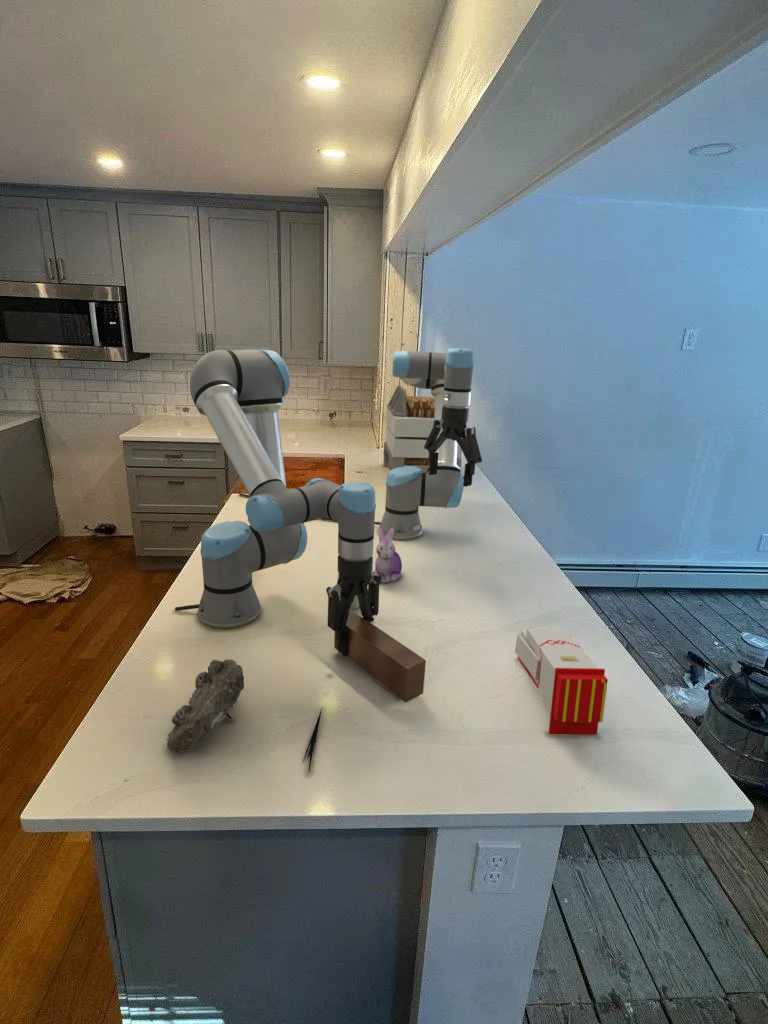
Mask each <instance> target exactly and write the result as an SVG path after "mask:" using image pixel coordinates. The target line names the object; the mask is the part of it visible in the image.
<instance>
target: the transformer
mask: <svg viewBox="0 0 768 1024" xmlns="http://www.w3.org/2000/svg"><path fill="white" fill-rule="evenodd" d="M407 394H408V393H407V390H406V389H404V388H403V387H402V385H399V384H398V385H397V386H396V388H395V390H394V392H393V394H392V395H391V398H390V400H389V402H388V404H387V405H386V413H385V414H386V415H385V423H386V428H385V438H384V442H383V466H384V467H388V468H389V472H390V471H391V470H393V469H395V468H399V467H405V466H413V467H417V466H418V467H429V465H430V463H429V452H428V450H427V449H424V445H425V443H426V441H427V439H428V437H429V435H430V433H431V430H432V428H433V424H434V410H435V398H434V397H433V396H415V395H414V396H413V395H412V396H411V395H407ZM462 454H463V452H462V449H461V447H460V445H459V444H458V443H457V466H458V467H459V468H460V469H461V470H462V461H463V460H462Z"/></svg>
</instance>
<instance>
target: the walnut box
mask: <svg viewBox="0 0 768 1024" xmlns="http://www.w3.org/2000/svg"><path fill="white" fill-rule="evenodd" d="M345 628H346V629H347V630H348V654H347V656H346V657H345V658H346V659H348V660H349V661H350V662H352V663H353V664H354V665H355V666H357V667H358V668H359V669H360V670H362V671H363V672H364V673H366V674H367V675H369V676H370V677H371V678H373V679H374V680H375V681H376V682H378V683H379V684H380V685H381V686H383V687H384V688H385V689H386V690H388V691H389V692H391V694H393V695H394V696H396V697H397V698H398V699H399V700H401V701H402V702H403V703H405V704H406V703H408V702H410V701H411V700H414V699H415V698H417V697H419V696H421V695H422V694H424V687H425V677H426V675H425V674H426V664H427V663H426V662H427V660H426V659H425V658H423V657H422V656H420V655H419V654H418V653H417V652H414V651H413V650H411V649H410V648H409V647H407V646H406V645H404V644H403V643H401V642H399V640H397V639H395V638H394V637H392V636H391V635H389V634H388V633H387V632H385V631H383V630H382V629H380V628H379V627H377V626H376V625H374V624H373V623H372V622H371V623H370V622H368V621H367V620H365V619H364V618H363V616H362V615H361V614H359V613H357V612H355V611H353V610H350V611H349V615H348V619H347V623H346V627H345ZM335 636H336V635H335V634H334V638H333V641H334V643H333V645H334V646H333V647H334V649H335V650H336V651H338V642H337V641H336V640H335Z"/></svg>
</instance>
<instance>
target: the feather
mask: <svg viewBox="0 0 768 1024" xmlns="http://www.w3.org/2000/svg"><path fill="white" fill-rule="evenodd" d="M329 675H330V676H331V675H332V674H331V673H330V674H329ZM322 710H323V707H321V708H320V710H319V713H318V716H317V719H316V723H315V725H314V728H313V731H312V733H311V737H310V739H309V742H308V745H307V748H306V751H305V754H304V757H303V760H302V763H301V767H302V765H303V763H304V761H305V758H308V759H309V760H308V762H307V763H308V764H307V766H308V771H310V770H311V766H312V765H311V764H312V760H313V757H315V756H314V755H315V751H316V749H315V746H317V739H318V733H319V729H320V722H321V717H322V712H323V711H322ZM313 754H314V755H313ZM306 755H307V757H306Z"/></svg>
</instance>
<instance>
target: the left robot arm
mask: <svg viewBox="0 0 768 1024" xmlns="http://www.w3.org/2000/svg"><path fill="white" fill-rule="evenodd" d="M290 386H291V378H290V372H289V369H288V366H287V363H286V362H285V360H284V359H283V358H282V356H281V355H280V354H279V353H278V352H276V351H274V350H271V349H261V348H256V349H217V350H216V349H215V350H212V351H209V352H208V353H206V354H204V355H203V356H201V357H200V358H199V360H198V361H197V362H196V363H195V365H194V367H193V369H192V371H191V374H190V379H189V392H190V397H191V399H192V402H193V404H194V406H195V408H196V410H197V411H198V413H200V414H201V415H203V416H205V417H206V418H207V421H208V423H209V424H210V426H211V428H212V430H213V432H214V433H215V435H216V437H217V439H218V441H219V443H220V444H221V446H222V448H223V450H224V452H225V454H226V456H227V457H228V459H229V461H230V463H231V465H232V467H233V468H234V470H235V473H236V474H237V476H238V478H239V480H240V481H241V483H242V485H243V487H244V489H245V491H246V493H247V495H249V496H250V498H249V497H248V499H247V500H246V503H245V515H246V516H247V521H248V522H245V521H241V520H233V521H231V520H228V521H222V522H220V523H216V524H214V525H212V526H210V527H209V528H207V529H206V530H205V531H204V532H203V534H202V535H201V539H200V556H201V568H202V576H203V577H202V579H203V590H202V593H201V598H200V601H199V604H190V605H189V604H188V605H181V606H176V607H174V611H175V612H180V611H187V610H195V609H197V617H198V620H199V622H200V623H201V624H202V625H203V626H205V627H208V628H210V629H214V630H215V629H216V630H232V629H233V630H234V629H238V628H239V629H240V628H243V627H246V626H248V625H250V624H253V622H255V621H257V620H258V618H259V617H260V615H261V612H262V611H261V602H260V600H259V597H258V594H257V592H256V590H255V588H254V586H253V585H254V584H253V573H256V572H258V571H261V570H265V569H269V568H272V567H276V566H280V565H286V564H289V563H291V562H292V561H295V560H299V559H300V558H301V557H302V556H303V554H304V553H305V551H306V549H307V544H308V531H307V527H306V525H305V523H308V522H312V521H317V520H322V519H321V518H328V519H330V520H332V521H331V522H334V523H337V527H338V529H337V530H338V531H337V554H338V555H337V573H338V574H339V579H338V581H337V580H336V584H335V585H333V586H332V587H331V586H328V587H326V589H325V591H326V594H327V627H328V628H329V629H330V630H332V631H333V632H334V637H335V640H336V641H337V642H338V650H337V652H338V653H339V654H340V655H342V656H343V657H344V658H347V657H346V656H347V654H348V630H347V629H346V628H345V627H346V623H347V619H348V615H349V612H351V609H350V607H351V603H352V602H353V601H354V597H355V596H356V595H357V597H358V601H359V610H360V616H361V617H362V618H364V619H365V620H367V621H368V622H370V623H371V624H372V623H373V622H374V621H375V617H376V616H378V615H379V609H380V608H379V607H380V585H381V583H382V582H381V578H382V577H381V576H380V575H378V574H376V573H375V571H373V570H374V569H373V568H374V557H373V556H374V549H375V547H374V546H375V545H374V544H375V524H374V522H376V520H375V518H376V509H377V503H376V490H375V488H374V486H372V485H371V484H370V483H367V482H361V481H347V482H344V483H342V484H341V485H340V484H337V483H336V482H333V481H332V480H328V479H327V478H326V479H324V478H321V477H314V478H311V479H310V480H308V481H307V482H306V483H305V484H304V485H303V486H299V487H294V488H287V480H286V473H285V471H286V470H285V463H284V455H283V446H282V439H281V429H280V422H279V410H280V409H281V407H282V406H283V405H284V402H283V398H284V397H285V396H286V395H287V394H288V393H289V391H290ZM340 590H341V592H340ZM339 592H340V594H339ZM339 596H340V600H339ZM374 616H375V617H374ZM335 635H336V636H335Z"/></svg>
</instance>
